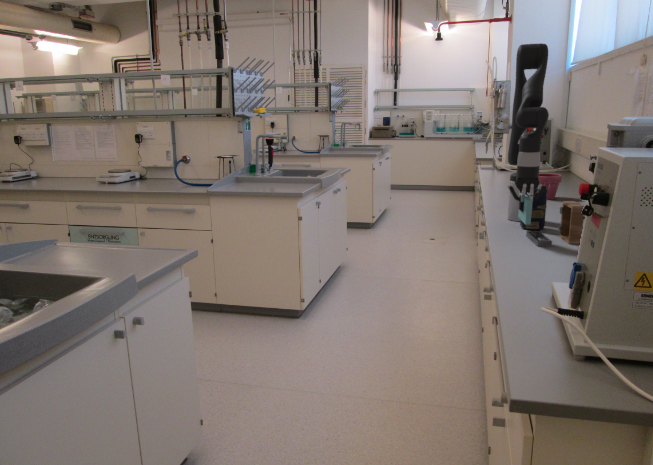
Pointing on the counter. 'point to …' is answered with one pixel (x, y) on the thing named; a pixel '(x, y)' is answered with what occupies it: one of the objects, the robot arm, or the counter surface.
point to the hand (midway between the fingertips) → (524, 211)
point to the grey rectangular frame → (543, 242)
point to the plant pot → (550, 183)
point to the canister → (537, 212)
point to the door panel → (526, 211)
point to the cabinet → (571, 222)
